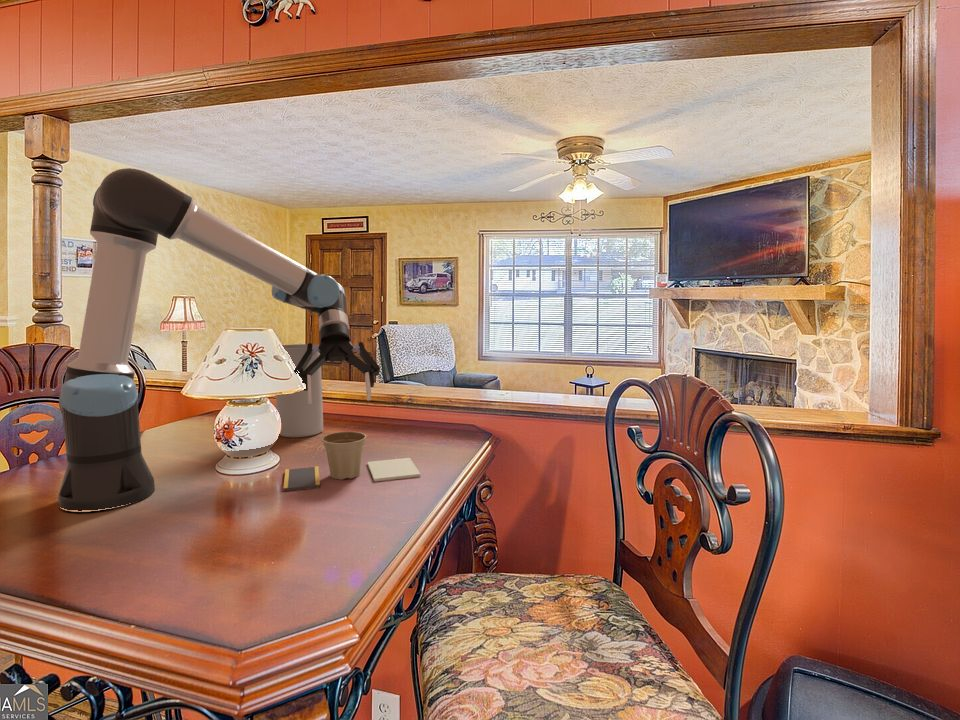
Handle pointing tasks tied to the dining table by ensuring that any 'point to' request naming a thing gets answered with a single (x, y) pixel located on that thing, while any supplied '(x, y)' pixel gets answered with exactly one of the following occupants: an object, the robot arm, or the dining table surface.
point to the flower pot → (344, 453)
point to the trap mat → (301, 478)
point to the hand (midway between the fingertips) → (340, 399)
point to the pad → (393, 469)
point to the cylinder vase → (301, 401)
